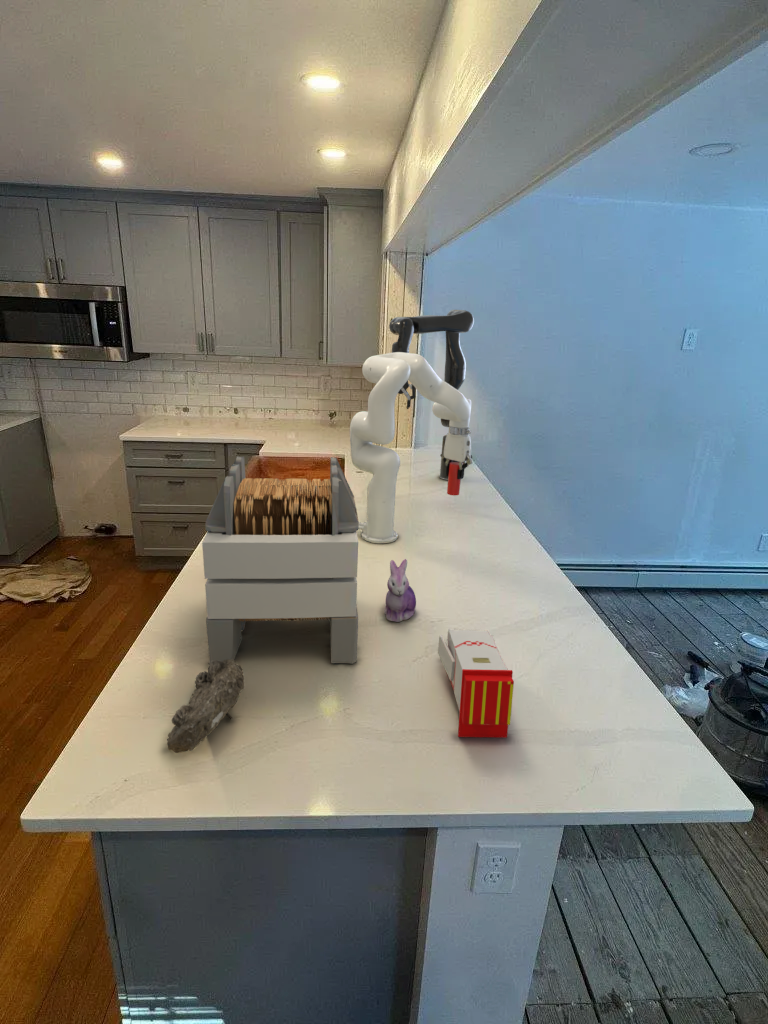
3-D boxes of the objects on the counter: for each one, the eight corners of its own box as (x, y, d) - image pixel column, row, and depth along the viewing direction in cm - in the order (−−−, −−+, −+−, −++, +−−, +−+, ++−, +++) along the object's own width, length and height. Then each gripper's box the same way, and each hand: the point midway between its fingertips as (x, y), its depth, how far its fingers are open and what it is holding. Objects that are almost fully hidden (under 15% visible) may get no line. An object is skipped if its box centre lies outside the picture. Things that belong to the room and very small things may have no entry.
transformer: (229, 593, 154) (221, 446, 140) (350, 592, 157) (353, 448, 144) (206, 668, 122) (192, 488, 108) (358, 664, 126) (363, 489, 112)
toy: (488, 613, 130) (523, 677, 101) (484, 667, 133) (517, 744, 104) (435, 612, 130) (455, 676, 101) (432, 666, 133) (451, 743, 103)
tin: (457, 492, 226) (460, 462, 221) (460, 495, 221) (463, 465, 217) (446, 491, 225) (448, 461, 221) (447, 495, 221) (450, 465, 217)
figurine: (392, 627, 141) (395, 572, 136) (374, 608, 149) (376, 556, 144) (425, 619, 145) (429, 566, 140) (405, 601, 154) (408, 550, 149)
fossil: (192, 660, 117) (244, 628, 112) (224, 691, 120) (276, 661, 115) (142, 746, 98) (202, 712, 93) (182, 779, 101) (242, 748, 96)
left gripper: (483, 433, 212) (478, 480, 218) (446, 426, 223) (442, 470, 229) (471, 436, 207) (466, 483, 213) (435, 428, 217) (431, 473, 224)
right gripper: (417, 368, 235) (414, 407, 241) (383, 366, 236) (381, 405, 242) (416, 370, 228) (414, 410, 234) (381, 368, 229) (379, 408, 235)
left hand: (454, 476), depth 221 cm, fingers closed on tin, 4 cm apart
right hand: (397, 408), depth 238 cm, fingers open, 8 cm apart
